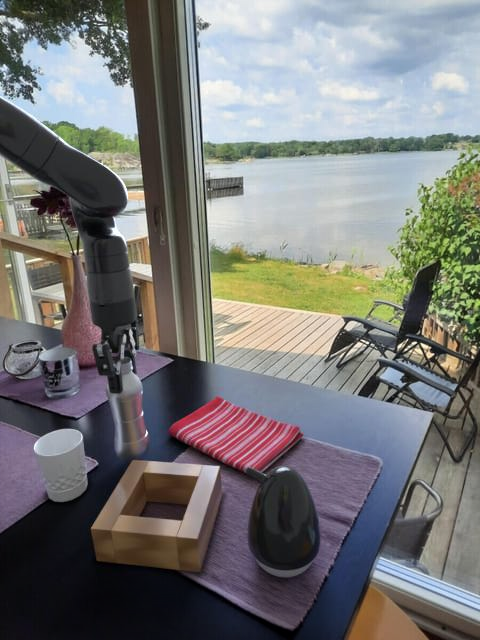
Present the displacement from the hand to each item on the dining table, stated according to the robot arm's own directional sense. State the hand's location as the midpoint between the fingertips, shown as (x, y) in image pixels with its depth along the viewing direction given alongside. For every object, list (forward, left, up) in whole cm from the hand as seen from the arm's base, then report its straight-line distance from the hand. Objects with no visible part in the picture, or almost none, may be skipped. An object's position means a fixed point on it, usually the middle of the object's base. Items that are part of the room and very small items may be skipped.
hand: (123, 383), depth 80 cm
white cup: (-9, -9, -17) cm, 21 cm away
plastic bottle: (0, 0, -16) cm, 16 cm away
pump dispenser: (+30, -19, -17) cm, 39 cm away
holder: (+11, -15, -17) cm, 25 cm away
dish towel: (+18, +10, -17) cm, 27 cm away
